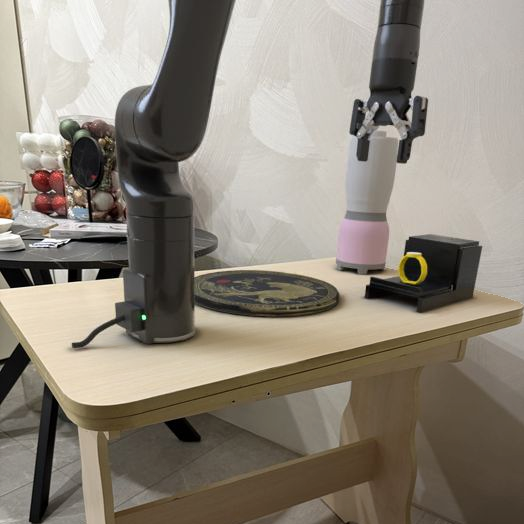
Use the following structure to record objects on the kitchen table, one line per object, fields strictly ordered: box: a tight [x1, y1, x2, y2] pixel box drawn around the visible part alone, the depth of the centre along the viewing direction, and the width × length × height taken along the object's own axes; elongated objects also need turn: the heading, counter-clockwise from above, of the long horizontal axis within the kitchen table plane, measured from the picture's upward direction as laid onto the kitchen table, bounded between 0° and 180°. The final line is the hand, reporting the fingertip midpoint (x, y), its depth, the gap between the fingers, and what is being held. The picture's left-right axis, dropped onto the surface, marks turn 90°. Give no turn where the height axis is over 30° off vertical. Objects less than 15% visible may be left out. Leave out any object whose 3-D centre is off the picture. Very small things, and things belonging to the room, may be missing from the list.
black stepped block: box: [364, 233, 483, 314], centre depth 103 cm, size 20×13×11 cm, turn 132°
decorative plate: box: [194, 269, 340, 318], centre depth 101 cm, size 30×2×30 cm
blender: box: [335, 129, 399, 275], centre depth 126 cm, size 16×12×32 cm
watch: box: [397, 252, 427, 285], centre depth 100 cm, size 6×3×6 cm, turn 35°
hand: (381, 162), depth 93 cm, fingers open, 8 cm apart
